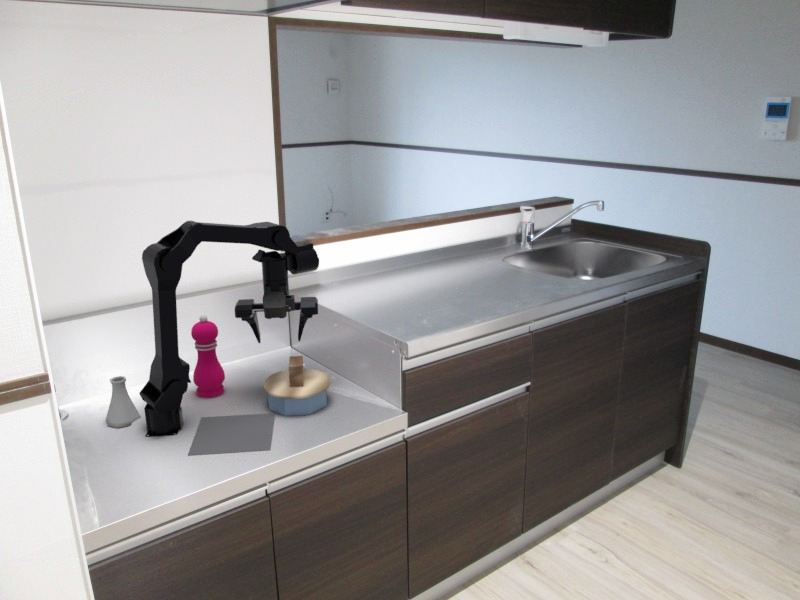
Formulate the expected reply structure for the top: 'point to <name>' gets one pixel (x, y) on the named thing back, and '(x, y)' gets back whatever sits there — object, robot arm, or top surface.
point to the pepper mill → (207, 360)
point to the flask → (121, 405)
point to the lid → (296, 381)
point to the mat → (233, 434)
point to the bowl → (297, 404)
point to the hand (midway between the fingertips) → (279, 341)
